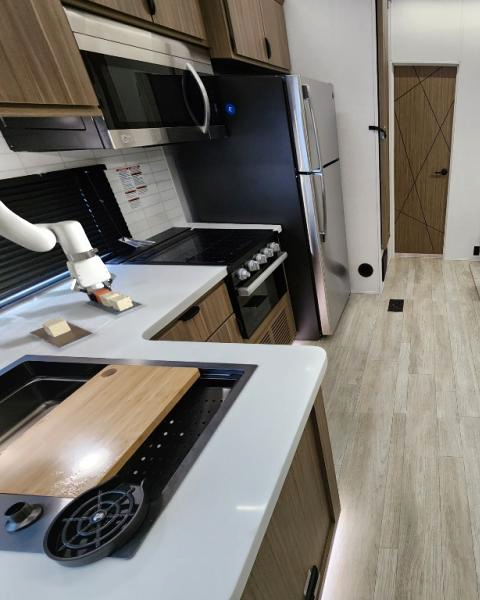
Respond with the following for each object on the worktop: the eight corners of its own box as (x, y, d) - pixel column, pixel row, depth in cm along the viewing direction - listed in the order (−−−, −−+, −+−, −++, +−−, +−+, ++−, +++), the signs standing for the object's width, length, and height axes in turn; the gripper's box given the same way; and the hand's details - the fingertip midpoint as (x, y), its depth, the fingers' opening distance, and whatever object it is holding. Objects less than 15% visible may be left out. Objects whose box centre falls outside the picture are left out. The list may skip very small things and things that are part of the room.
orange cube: (100, 303, 127) (95, 294, 126) (93, 301, 129) (89, 292, 127) (113, 298, 131) (108, 289, 129) (106, 296, 133) (102, 287, 131)
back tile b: (109, 307, 125) (105, 298, 123) (103, 304, 126) (98, 295, 125) (122, 302, 128) (118, 293, 126) (116, 299, 130) (112, 290, 128)
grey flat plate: (143, 305, 127) (142, 304, 127) (117, 316, 120) (116, 315, 120) (110, 294, 135) (110, 293, 135) (84, 304, 128) (84, 302, 128)
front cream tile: (54, 337, 107) (47, 326, 105) (47, 334, 109) (41, 323, 107) (71, 330, 111) (65, 320, 109) (64, 327, 113) (58, 317, 111)
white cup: (105, 282, 146) (98, 267, 143) (107, 286, 142) (100, 271, 139) (85, 286, 142) (77, 272, 139) (87, 291, 138) (79, 276, 134)
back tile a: (120, 311, 122) (115, 301, 120) (113, 308, 124) (109, 299, 122) (133, 305, 126) (129, 296, 124) (126, 303, 127) (122, 294, 125)
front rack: (93, 334, 110) (93, 333, 109) (60, 349, 102) (59, 347, 102) (63, 321, 117) (62, 319, 117) (29, 334, 110) (29, 332, 110)
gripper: (101, 247, 129) (121, 288, 138) (46, 261, 116) (72, 306, 125) (112, 249, 126) (131, 292, 135) (57, 265, 113) (82, 310, 122)
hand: (102, 298), depth 130 cm, fingers closed on orange cube, 4 cm apart
